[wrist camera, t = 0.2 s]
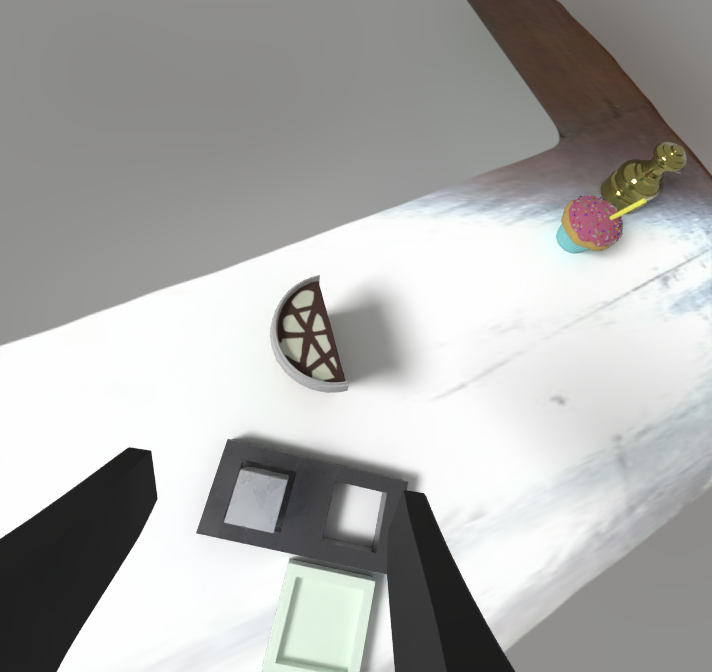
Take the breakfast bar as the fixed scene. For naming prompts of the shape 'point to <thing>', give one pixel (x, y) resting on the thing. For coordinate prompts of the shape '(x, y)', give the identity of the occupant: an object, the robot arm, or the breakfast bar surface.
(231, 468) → the dark grey rectangular frame
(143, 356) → the breakfast bar surface
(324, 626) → the parts tray
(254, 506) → the grey rectangular block
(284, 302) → the food container
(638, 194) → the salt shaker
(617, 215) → the cupcake
